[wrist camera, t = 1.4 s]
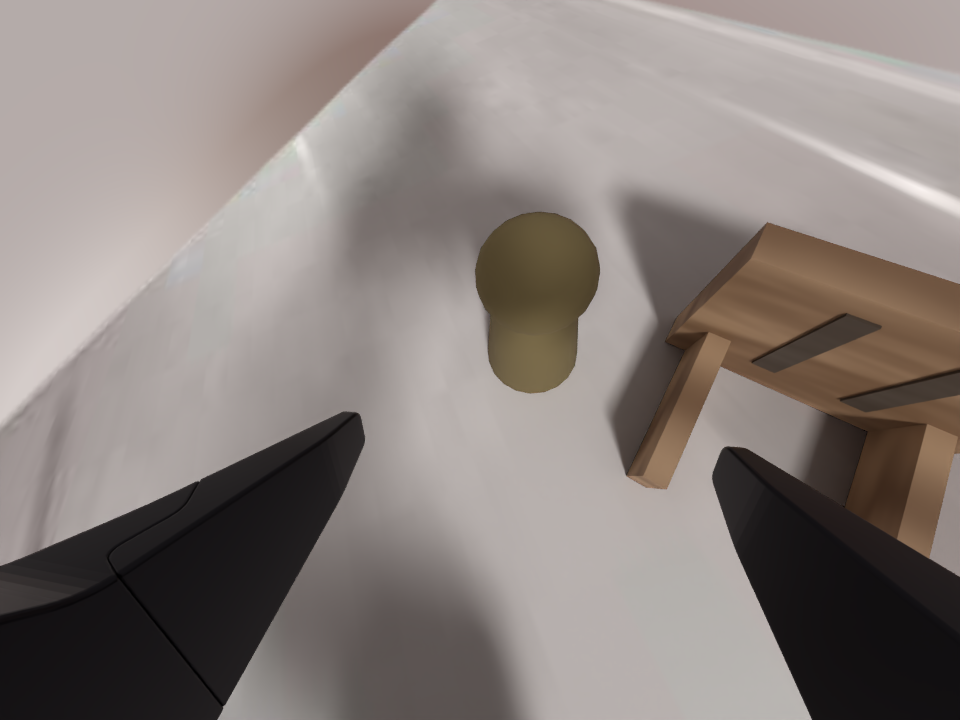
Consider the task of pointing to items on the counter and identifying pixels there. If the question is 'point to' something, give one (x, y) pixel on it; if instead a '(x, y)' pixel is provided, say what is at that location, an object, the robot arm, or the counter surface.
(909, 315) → the post bracket
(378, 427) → the counter surface
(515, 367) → the cork
